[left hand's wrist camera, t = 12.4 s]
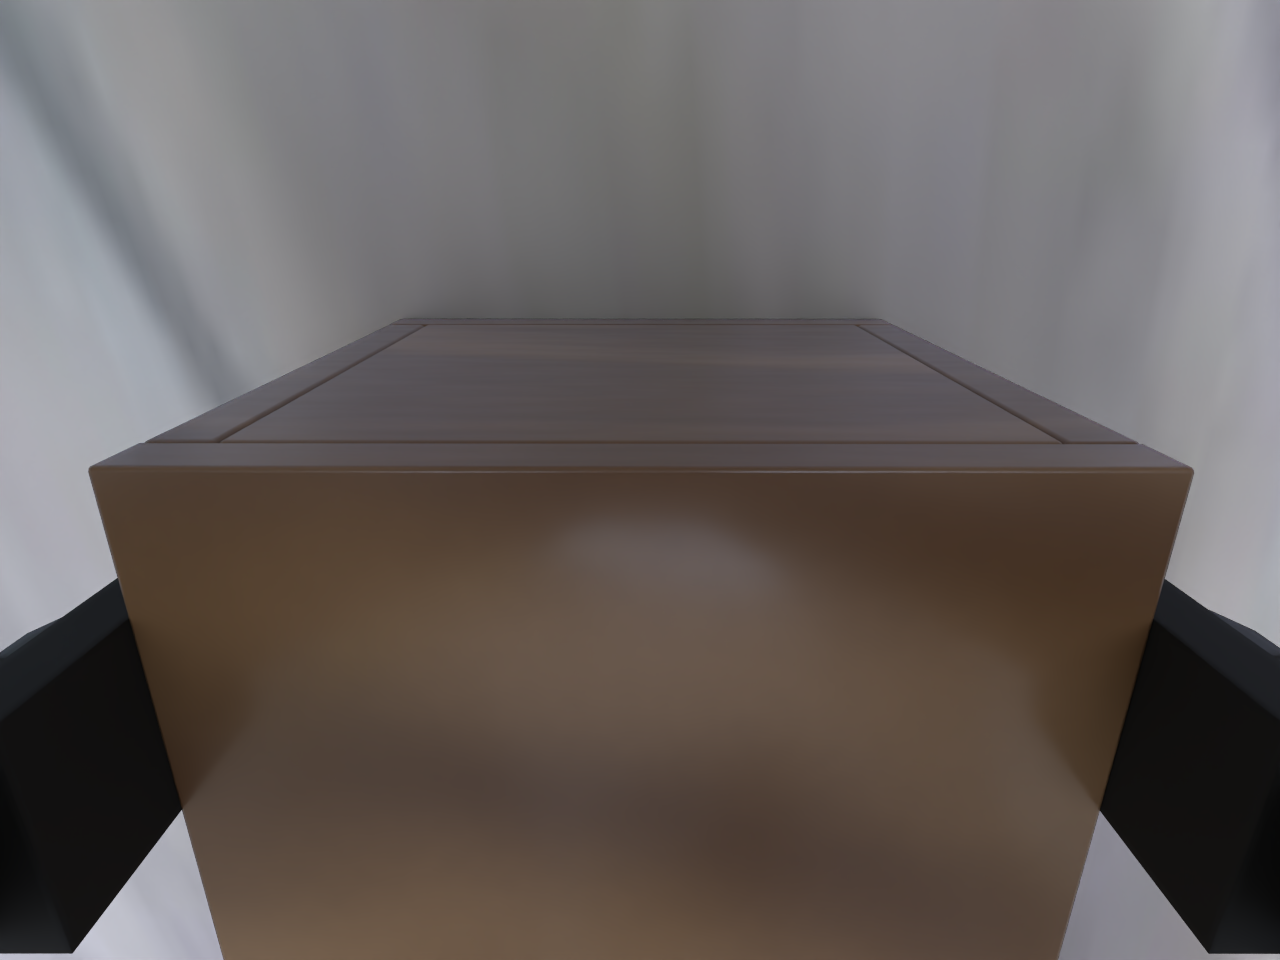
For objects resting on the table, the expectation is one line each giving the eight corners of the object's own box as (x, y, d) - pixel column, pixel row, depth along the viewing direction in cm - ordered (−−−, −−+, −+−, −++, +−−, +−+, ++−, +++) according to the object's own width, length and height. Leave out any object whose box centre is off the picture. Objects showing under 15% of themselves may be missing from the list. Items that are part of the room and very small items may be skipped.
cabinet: (810, 960, 25) (920, 1455, 15) (471, 959, 25) (358, 1454, 15) (883, 319, 17) (1198, 468, 7) (399, 318, 17) (83, 467, 8)
